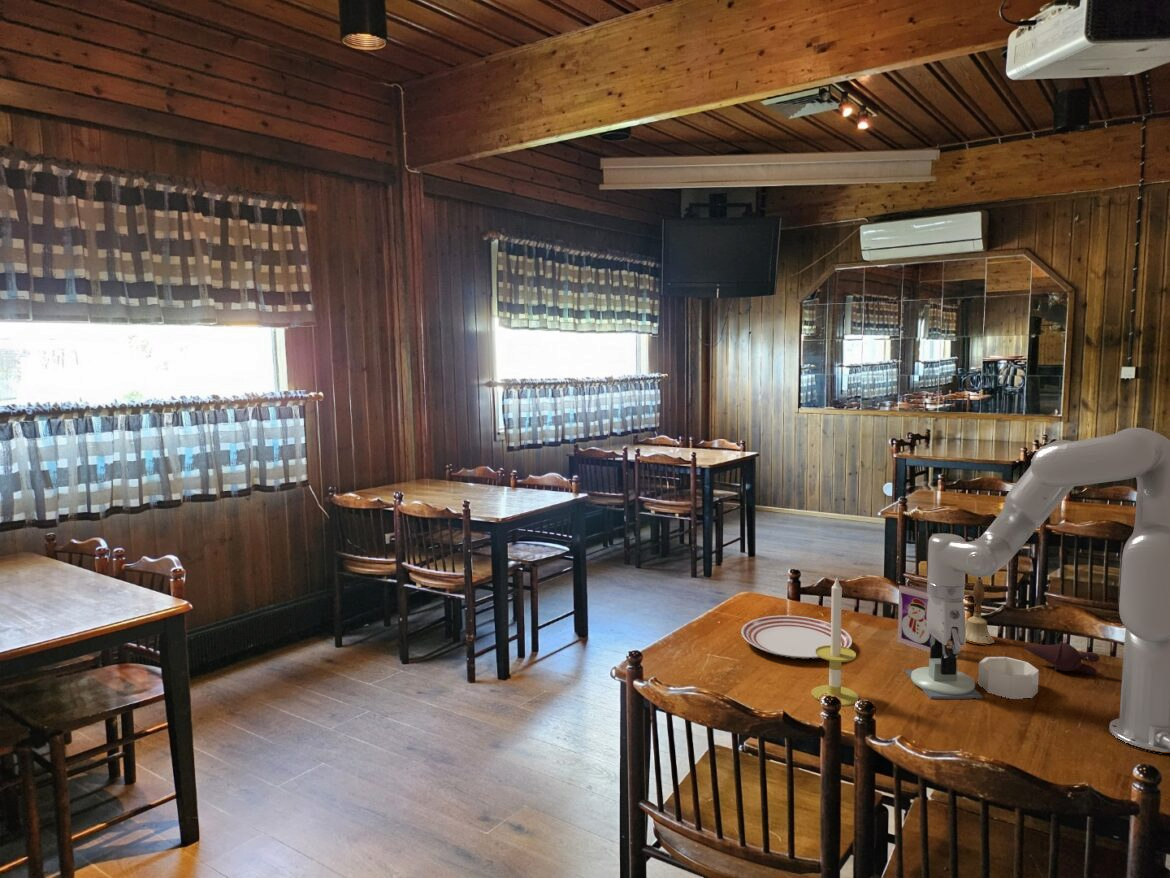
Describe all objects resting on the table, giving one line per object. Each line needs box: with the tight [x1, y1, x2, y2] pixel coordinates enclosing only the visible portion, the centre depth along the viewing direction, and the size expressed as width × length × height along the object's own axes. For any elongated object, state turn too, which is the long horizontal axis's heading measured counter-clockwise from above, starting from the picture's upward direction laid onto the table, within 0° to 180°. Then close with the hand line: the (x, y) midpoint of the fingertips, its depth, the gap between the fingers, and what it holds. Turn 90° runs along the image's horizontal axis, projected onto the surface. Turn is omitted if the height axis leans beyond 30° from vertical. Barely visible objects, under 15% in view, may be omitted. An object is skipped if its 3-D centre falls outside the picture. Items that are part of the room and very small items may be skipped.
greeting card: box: [897, 585, 931, 653], centre depth 198 cm, size 11×7×15 cm, turn 33°
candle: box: [810, 577, 860, 707], centre depth 170 cm, size 10×10×27 cm
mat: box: [904, 669, 983, 700], centre depth 176 cm, size 14×11×1 cm
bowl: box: [977, 656, 1040, 700], centre depth 173 cm, size 11×11×5 cm
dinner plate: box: [740, 614, 853, 660], centre depth 201 cm, size 28×27×3 cm
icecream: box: [1023, 640, 1100, 676], centre depth 183 cm, size 7×7×15 cm
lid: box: [910, 658, 976, 695], centre depth 176 cm, size 13×13×5 cm
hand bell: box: [966, 578, 995, 644], centre depth 202 cm, size 8×8×16 cm
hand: (942, 668), depth 176 cm, fingers open, 4 cm apart
